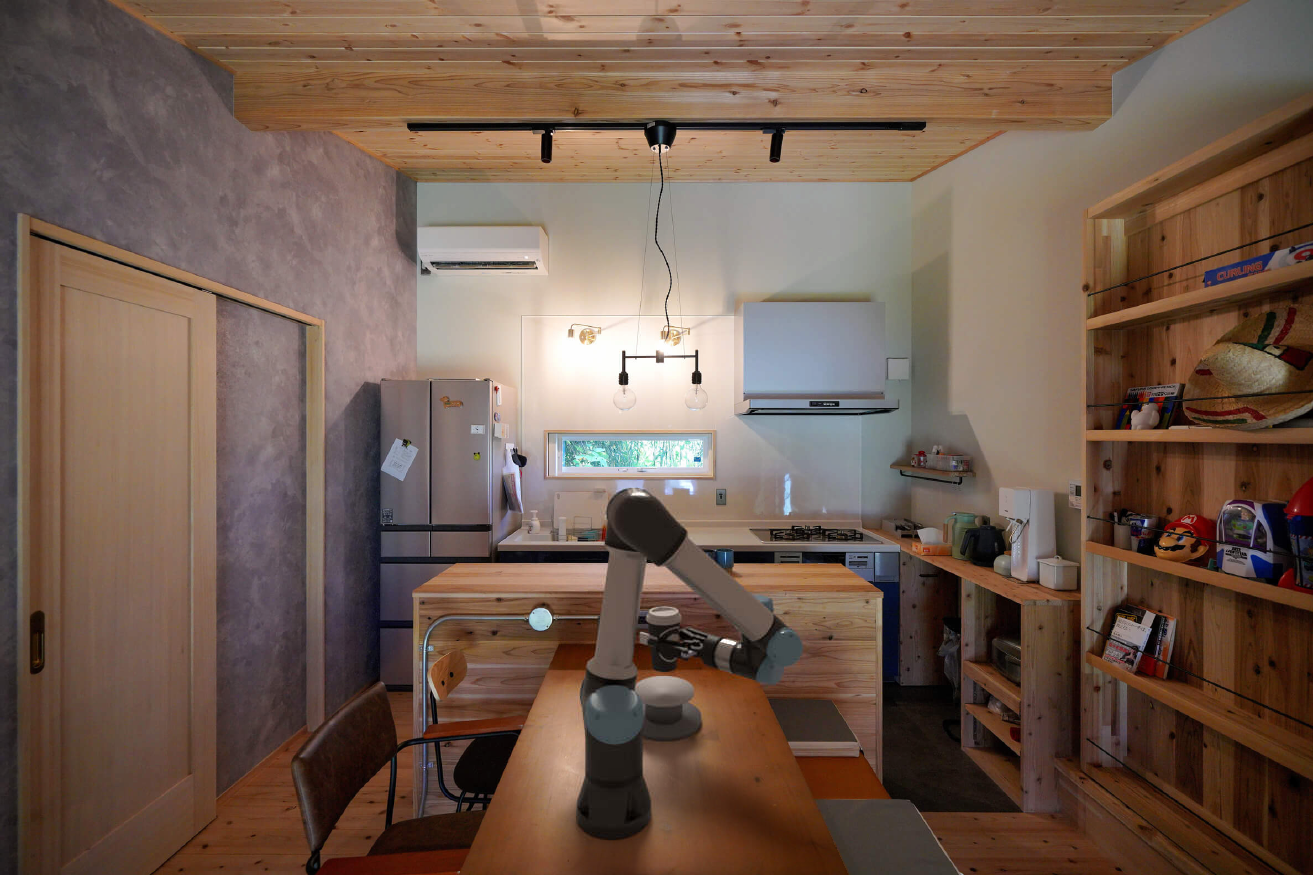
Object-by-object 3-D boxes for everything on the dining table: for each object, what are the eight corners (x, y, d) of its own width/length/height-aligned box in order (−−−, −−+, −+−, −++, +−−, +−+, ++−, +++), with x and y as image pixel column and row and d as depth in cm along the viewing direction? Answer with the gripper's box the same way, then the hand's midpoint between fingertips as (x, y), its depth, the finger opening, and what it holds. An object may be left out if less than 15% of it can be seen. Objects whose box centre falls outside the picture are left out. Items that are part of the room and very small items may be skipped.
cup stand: (698, 743, 140) (698, 709, 140) (619, 737, 143) (619, 703, 143) (703, 705, 160) (703, 675, 160) (634, 700, 163) (634, 670, 163)
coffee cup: (683, 659, 155) (682, 605, 155) (681, 675, 146) (680, 617, 146) (648, 658, 156) (647, 605, 156) (644, 674, 147) (643, 616, 147)
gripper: (698, 682, 132) (625, 658, 146) (742, 655, 148) (672, 636, 162) (698, 650, 132) (625, 629, 146) (742, 627, 148) (672, 610, 162)
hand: (650, 633), depth 154 cm, fingers closed on coffee cup, 7 cm apart
